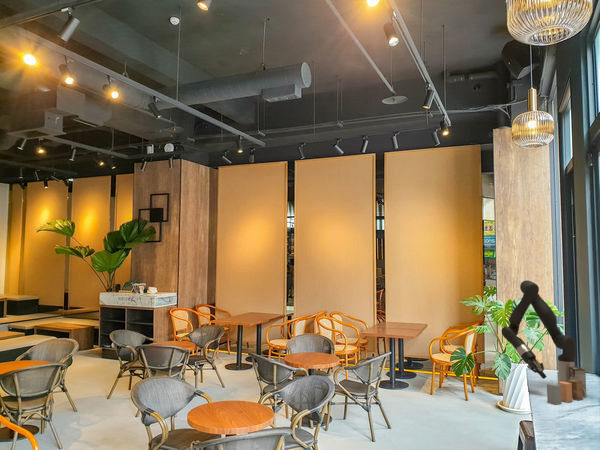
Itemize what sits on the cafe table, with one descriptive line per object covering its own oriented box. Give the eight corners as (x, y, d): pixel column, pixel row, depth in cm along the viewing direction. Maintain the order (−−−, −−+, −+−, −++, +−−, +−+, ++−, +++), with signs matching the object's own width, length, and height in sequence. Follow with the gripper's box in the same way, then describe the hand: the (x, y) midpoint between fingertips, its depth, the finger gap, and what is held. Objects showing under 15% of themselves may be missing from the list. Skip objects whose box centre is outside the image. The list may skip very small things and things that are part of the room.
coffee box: (569, 393, 277) (568, 366, 279) (581, 393, 276) (579, 366, 278) (575, 397, 268) (574, 369, 270) (587, 397, 267) (585, 369, 269)
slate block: (547, 402, 256) (546, 383, 257) (553, 401, 258) (552, 383, 260) (555, 404, 252) (555, 385, 253) (561, 403, 254) (560, 385, 255)
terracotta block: (558, 400, 261) (557, 382, 262) (563, 399, 263) (563, 381, 264) (567, 402, 256) (566, 384, 257) (572, 401, 259) (571, 383, 260)
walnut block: (569, 398, 265) (568, 380, 266) (574, 397, 268) (573, 379, 269) (577, 400, 261) (576, 382, 262) (582, 399, 263) (581, 381, 264)
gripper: (522, 350, 278) (541, 375, 266) (536, 349, 284) (555, 373, 272) (515, 357, 283) (533, 382, 270) (529, 356, 289) (547, 380, 276)
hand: (544, 377), depth 271 cm, fingers closed
